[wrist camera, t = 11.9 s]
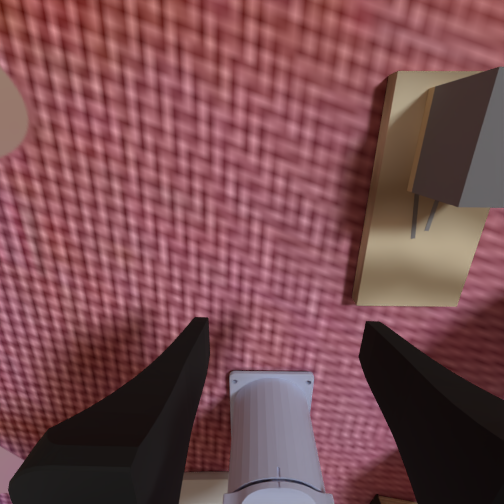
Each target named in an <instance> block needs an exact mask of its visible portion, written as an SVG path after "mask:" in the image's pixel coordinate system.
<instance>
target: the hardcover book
mask: <svg viewBox="0 0 504 504" xmlns="http://www.w3.org/2000/svg"><path fill="white" fill-rule="evenodd" d="M370 504H418V503H416V502H411V501H405V500H400V499H395V498H389V497H384V496H378V494H377V495H376V496H375V497H374V499H373V500H372V501H371V503H370Z"/></svg>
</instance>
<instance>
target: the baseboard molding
mask: <svg viewBox="0 0 504 504" xmlns="http://www.w3.org/2000/svg"><path fill="white" fill-rule="evenodd" d="M228 477H229V471H217V472H184V475H183V481H182V487H181V493H180V500H179V504H223V495H224V494H225V493H227V490H228Z"/></svg>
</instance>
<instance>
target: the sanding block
mask: <svg viewBox="0 0 504 504" xmlns="http://www.w3.org/2000/svg"><path fill="white" fill-rule="evenodd" d="M407 191H409V192H412V193H415V194H418V195H421V196H425V197H428V198H431V199H434V200H437V201H440V202H443V203H446V204H449V205H453V206H456V207H480V208H504V67H497V68H494V69H491V70H487V71H484V72H481V73H478V74H474V75H471V76H468V77H465V78H461V79H458V80H455V81H452V82H448V83H445V84H442V85H438V86H435V87H432V88H429V91H428V96H427V100H426V105H425V110H424V114H423V119H422V123H421V128H420V133H419V137H418V142H417V146H416V151H415V155H414V160H413V165H412V169H411V174H410V178H409V183H408V188H407Z"/></svg>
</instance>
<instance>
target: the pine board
mask: <svg viewBox="0 0 504 504" xmlns="http://www.w3.org/2000/svg"><path fill="white" fill-rule="evenodd" d="M481 72H484V71H397V72H395V73H393V74H391V75H389V76H388V82H387V88H386V94H385V100H384V106H383V112H382V118H381V124H380V130H379V136H378V142H377V148H376V155H375V161H374V167H373V173H372V179H371V185H370V191H369V197H368V203H367V209H366V215H365V221H364V227H363V233H362V239H361V245H360V251H359V257H358V263H357V269H356V275H355V281H354V287H353V293H352V299H353V300H354V302H355V304H356V305H357V306H455V307H457V304H458V301H459V298H460V295H461V292H462V289H463V287H464V284H465V281H466V278H467V275H468V272H469V269H470V266H471V263H472V260H473V257H474V254H475V251H476V248H477V245H478V242H479V239H480V236H481V233H482V230H483V228H484V225H485V222H486V219H487V216H488V213H489V210H490V208H480V207H456V206H453V205H449V204H446V203H443V202H440V201H437V200H434V199H431V198H428V197H425V196H421V195H418V194H415V193H412V192H409V191H407V188H408V183H409V178H410V174H411V169H412V165H413V160H414V155H415V151H416V146H417V142H418V137H419V133H420V128H421V123H422V119H423V114H424V110H425V105H426V100H427V96H428V91H429V88H432V87H435V86H438V85H442V84H445V83H448V82H452V81H455V80H458V79H461V78H465V77H468V76H471V75H474V74H478V73H481Z"/></svg>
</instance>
